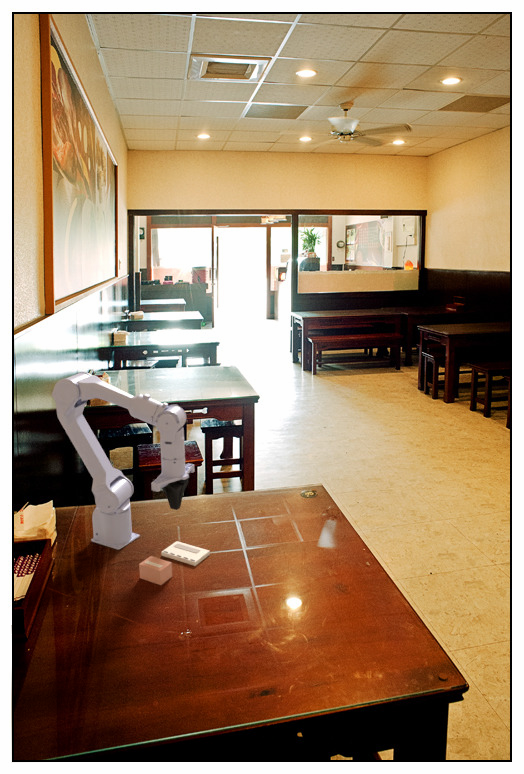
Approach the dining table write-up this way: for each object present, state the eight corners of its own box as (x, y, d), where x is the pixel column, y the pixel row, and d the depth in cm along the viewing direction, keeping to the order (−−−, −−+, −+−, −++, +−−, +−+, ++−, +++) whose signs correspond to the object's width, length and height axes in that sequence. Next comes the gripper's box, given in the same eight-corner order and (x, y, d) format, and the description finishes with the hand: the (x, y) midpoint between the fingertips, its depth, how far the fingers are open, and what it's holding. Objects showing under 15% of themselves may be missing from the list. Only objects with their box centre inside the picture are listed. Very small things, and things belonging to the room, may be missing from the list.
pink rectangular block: (140, 578, 126) (139, 563, 125) (151, 569, 129) (150, 555, 128) (161, 585, 123) (160, 570, 122) (172, 576, 126) (171, 562, 125)
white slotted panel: (161, 555, 135) (161, 551, 135) (176, 544, 140) (176, 540, 140) (195, 566, 130) (195, 561, 130) (209, 554, 136) (209, 550, 135)
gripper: (167, 468, 127) (169, 523, 130) (203, 449, 139) (205, 500, 142) (143, 463, 130) (146, 517, 133) (181, 445, 143) (183, 495, 146)
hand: (175, 508), depth 138 cm, fingers closed
